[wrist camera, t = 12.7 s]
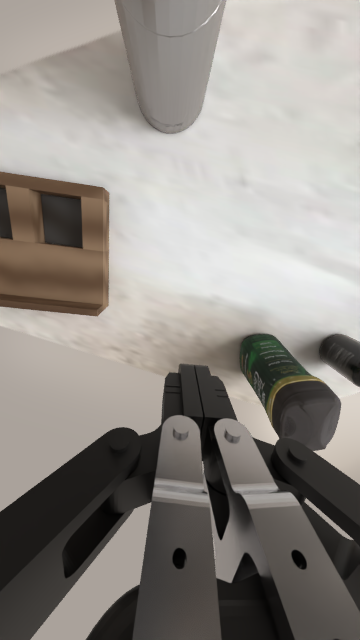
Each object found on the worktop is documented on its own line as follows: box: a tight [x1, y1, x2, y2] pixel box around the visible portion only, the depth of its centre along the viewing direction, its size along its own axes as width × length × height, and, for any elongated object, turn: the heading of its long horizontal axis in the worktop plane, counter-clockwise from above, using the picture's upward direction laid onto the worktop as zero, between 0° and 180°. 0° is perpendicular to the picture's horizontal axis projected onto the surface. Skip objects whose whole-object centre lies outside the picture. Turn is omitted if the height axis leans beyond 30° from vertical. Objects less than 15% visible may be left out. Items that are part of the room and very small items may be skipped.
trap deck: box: [0, 172, 109, 316], centre depth 30 cm, size 18×25×6 cm
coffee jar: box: [240, 334, 341, 451], centre depth 33 cm, size 10×8×19 cm
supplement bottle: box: [319, 334, 360, 387], centre depth 36 cm, size 7×7×12 cm
